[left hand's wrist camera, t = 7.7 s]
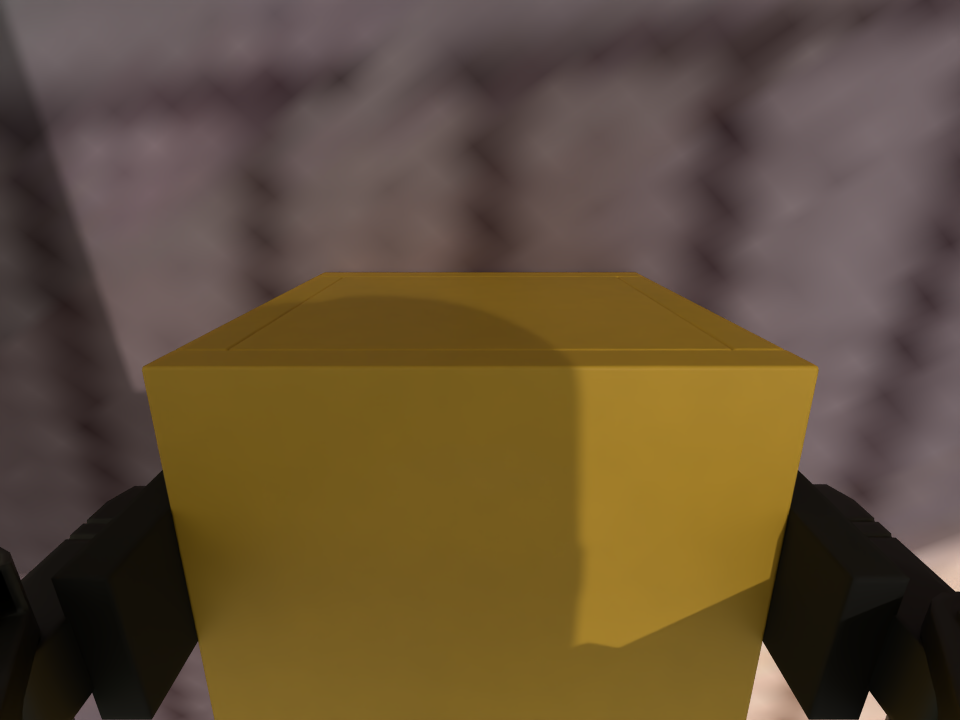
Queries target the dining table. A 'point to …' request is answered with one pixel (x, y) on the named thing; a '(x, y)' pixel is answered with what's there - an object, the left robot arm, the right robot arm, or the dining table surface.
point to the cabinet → (480, 498)
